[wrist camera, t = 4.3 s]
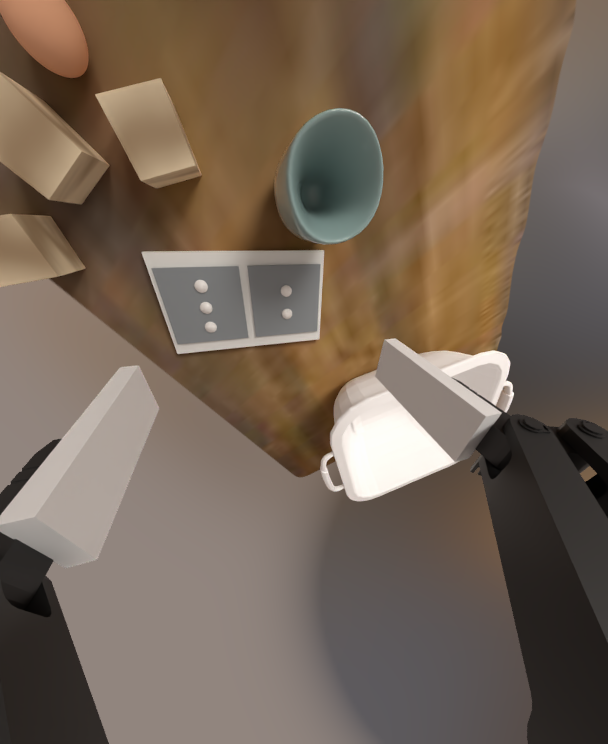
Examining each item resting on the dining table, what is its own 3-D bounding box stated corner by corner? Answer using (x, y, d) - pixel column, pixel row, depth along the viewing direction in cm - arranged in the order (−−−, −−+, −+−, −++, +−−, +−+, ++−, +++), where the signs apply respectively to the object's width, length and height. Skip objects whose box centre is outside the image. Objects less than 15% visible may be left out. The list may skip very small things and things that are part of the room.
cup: (282, 248, 26) (303, 258, 18) (256, 163, 22) (270, 125, 14) (341, 227, 27) (387, 227, 19) (328, 139, 22) (382, 88, 14)
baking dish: (463, 304, 38) (546, 332, 28) (443, 410, 55) (490, 451, 45) (282, 373, 36) (301, 431, 26) (318, 461, 53) (339, 517, 43)
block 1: (15, 149, 18) (-41, 129, 14) (45, 101, 17) (-7, 67, 13) (82, 204, 20) (48, 199, 17) (110, 165, 19) (81, 151, 16)
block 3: (122, 120, 18) (94, 94, 15) (175, 106, 18) (160, 77, 15) (156, 188, 21) (140, 180, 17) (202, 175, 21) (195, 165, 18)
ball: (9, -11, 14) (-57, -81, 11) (82, 4, 15) (40, -56, 12) (48, 85, 16) (3, 51, 13) (110, 93, 17) (82, 63, 14)
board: (143, 251, 23) (139, 252, 22) (322, 249, 27) (325, 250, 26) (178, 351, 30) (176, 355, 29) (317, 337, 34) (320, 340, 33)
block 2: (11, 213, 16) (51, 215, 20) (-59, 223, 16) (-5, 224, 19) (58, 276, 19) (86, 268, 23) (0, 287, 18) (38, 277, 22)
